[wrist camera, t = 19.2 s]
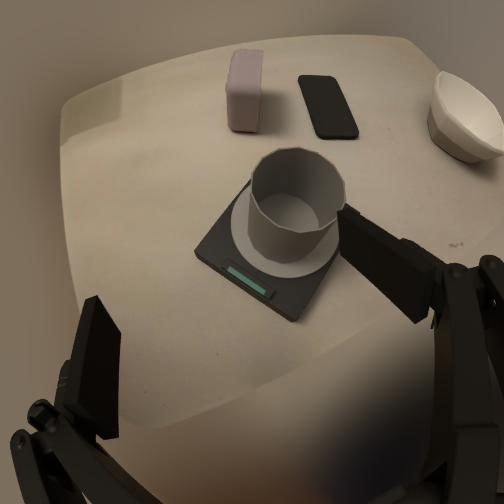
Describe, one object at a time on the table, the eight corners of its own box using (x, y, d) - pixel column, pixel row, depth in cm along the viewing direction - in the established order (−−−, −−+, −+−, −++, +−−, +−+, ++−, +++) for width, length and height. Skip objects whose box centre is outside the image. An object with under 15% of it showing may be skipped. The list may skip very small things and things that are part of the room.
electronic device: (232, 90, 45) (231, 45, 36) (259, 92, 45) (263, 47, 36) (225, 134, 42) (223, 86, 33) (256, 135, 42) (260, 88, 33)
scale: (291, 322, 35) (297, 320, 31) (197, 257, 37) (192, 248, 33) (352, 221, 39) (363, 209, 35) (267, 167, 41) (270, 151, 37)
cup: (237, 250, 33) (237, 215, 24) (257, 188, 36) (263, 137, 26) (310, 271, 33) (338, 244, 23) (324, 207, 35) (351, 163, 26)
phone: (335, 76, 47) (361, 136, 42) (333, 79, 47) (359, 139, 43) (296, 74, 46) (317, 135, 42) (296, 77, 47) (316, 139, 43)
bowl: (414, 90, 49) (432, 60, 40) (478, 128, 48) (499, 104, 39) (413, 146, 44) (438, 114, 35) (485, 189, 43) (514, 166, 34)
